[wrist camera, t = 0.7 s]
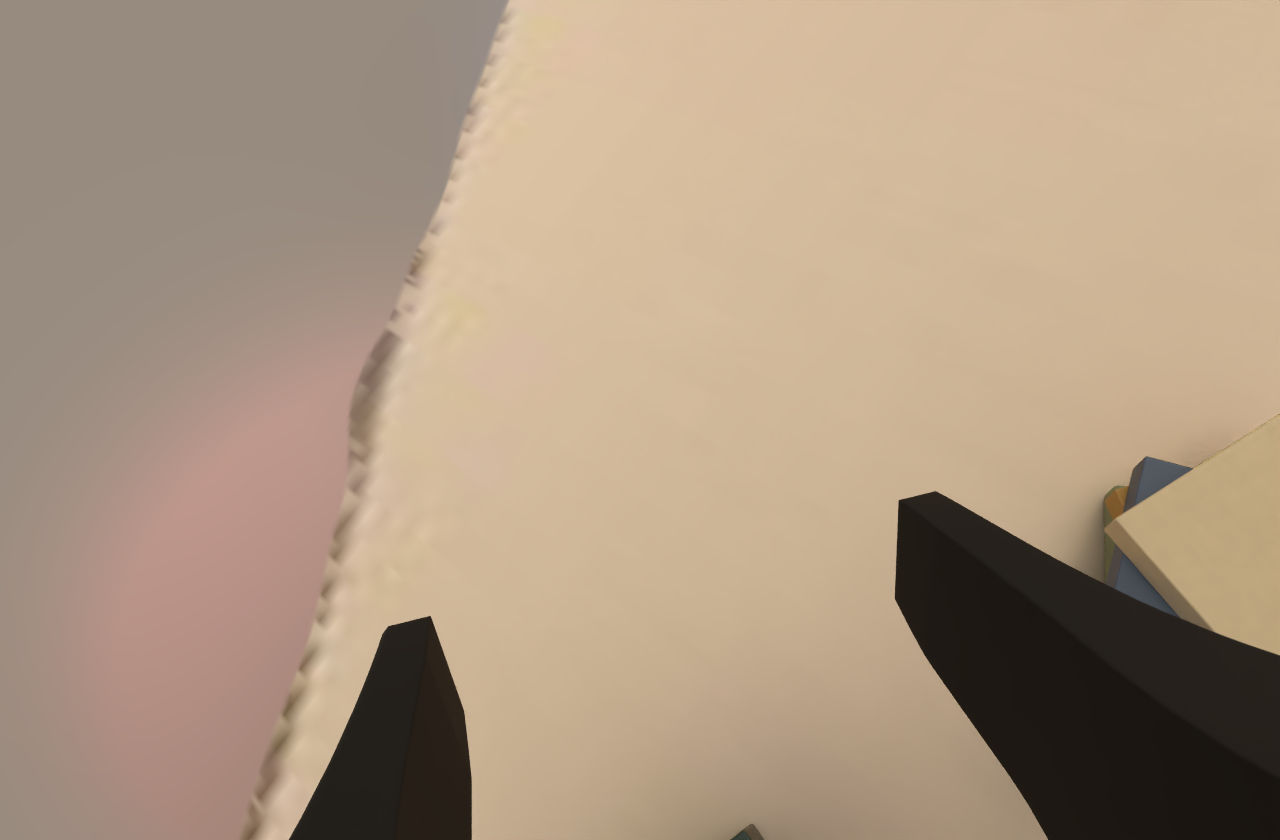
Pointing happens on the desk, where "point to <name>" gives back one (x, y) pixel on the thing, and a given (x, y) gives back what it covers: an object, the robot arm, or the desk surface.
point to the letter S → (748, 834)
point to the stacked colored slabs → (1204, 539)
